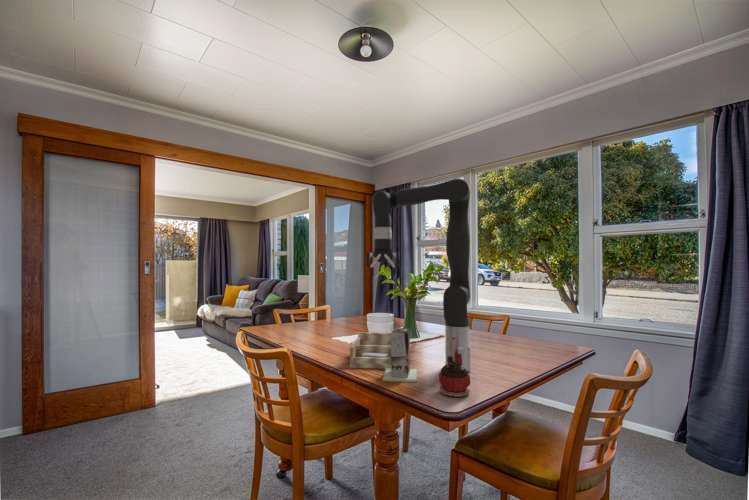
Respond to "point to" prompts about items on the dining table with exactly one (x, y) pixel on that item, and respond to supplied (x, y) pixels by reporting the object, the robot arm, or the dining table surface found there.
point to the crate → (371, 350)
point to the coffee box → (400, 352)
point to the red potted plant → (454, 375)
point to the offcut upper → (374, 355)
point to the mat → (411, 377)
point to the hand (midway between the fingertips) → (382, 276)
